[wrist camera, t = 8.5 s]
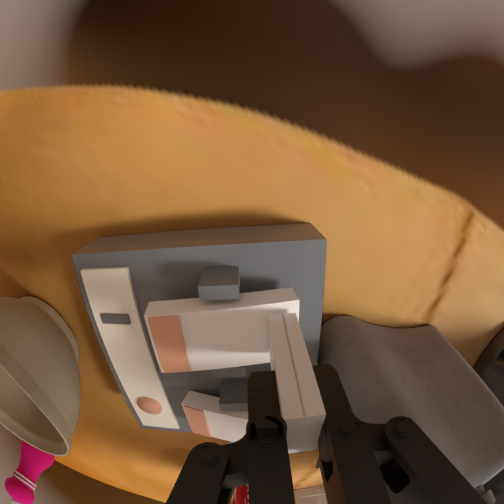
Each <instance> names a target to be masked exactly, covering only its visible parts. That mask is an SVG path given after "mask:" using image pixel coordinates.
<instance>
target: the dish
mask: <svg viewBox="0 0 504 504" xmlns="http://www.w3.org/2000/svg"><path fill="white" fill-rule="evenodd" d="M294 497H295V504H328V503H327V498H326V494H325V489H324V486H320V487H311V488H303V489H297V490H294Z"/></svg>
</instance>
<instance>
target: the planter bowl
mask: <svg viewBox="0 0 504 504" xmlns="http://www.w3.org/2000/svg"><path fill="white" fill-rule="evenodd" d="M79 357H80V353H79V347H78V344H77V341H76V339H75V337H74V335H73V333H72V331H71V329H70V328H69V326H68V325H67V323H66V322H65V321H64V320H63V318H62V317H61V316H60V315H59V314H58V313H57V312H56V311H55V310H54V309H53V308H52V307H51V306H49V305H48V304H47V303H45V302H44V301H42V300H40V299H38V298H36V297H31V296H25V297H22V298H20V299H19V298H14V297H7V296H0V423H1V424H2V425H3V426H5V427H6V428H7V429H8V430H9V431H11V432H12V433H14V434H15V435H16V436H17V437H19V438H20V439H22V440H24V441H25V442H27V443H28V444H30V445H32V446H33V447H35V448H37V449H39V450H41V451H43V452H46V453H48V454H52V455H55V456H66V455H67V454H68V453H69V451H70V449H71V444H72V437H73V434H74V432H75V429H76V425H77V422H78V417H79V411H80V400H81V385H80V375H79V370H78V362H79Z"/></svg>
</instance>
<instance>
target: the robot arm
mask: <svg viewBox="0 0 504 504" xmlns="http://www.w3.org/2000/svg"><path fill="white" fill-rule="evenodd" d="M269 355H270V363H271V371H258V372H252V373H251V375H250V376H249V378H248V380H247V388H248V422H247V425H246V434H245V435H244V436H243V437H242V438H241V439H240V440H238V441H236V442H233V443H230V444H226V445H223V446H221V445H218V444H216V443H209V442H206V443H202V444H199V445H197V446H195V447H194V448H193V449H192V450H191V452H190V453H189V455H188V457H187V459H186V462H185V464H184V466H183V468H182V470H181V472H180V474H179V477H178V479H177V481H176V483H175V485H174V487H173V489H172V491H171V494H170V496H169V498H168V500H167V502H166V504H230V501H231V498H232V495H233V492H234V489H235V488H236V487H240V486H243V485H247V484H248V488H249V504H295V497H294V490H293V483H292V475H291V468H290V461H289V454H290V453H299V452H305V451H312V450H317V446H318V447H319V451H320V455H319V458H318V461H317V464H316V468H319V467H320V470H321V474H322V479H323V484H324V489H325V494H326V498H327V503H328V504H392V503H391V500H392V502H393V503H394V504H488V503H487V502H486V501H485V500H484V499H483V498H482V497H481V495H480V494H479V493H478V492H477V491H476V490H475V489H474V488H473V486H472V485H471V484H470V483H469V482H468V481H467V480H466V479H465V477H464V476H463V475H462V474H461V473H460V472H459V471H458V470H457V468H456V467H455V466H454V465H453V464H452V463H451V462H450V461H449V459H448V458H447V457H446V456H445V455H444V454H443V453H442V452H441V451H440V449H439V448H438V447H437V446H436V445H435V444H434V443H433V442H432V441H431V439H430V438H429V437H428V436H427V435H426V434H425V433H424V432H423V431H422V429H421V428H420V427H419V426H418V425H417V424H416V423H415V422H414V421H413V420H412V419H411V418H409V417H406V416H396V417H393V418H391V419H390V420H389V421H388V422H387V423H386V424H372V423H366V422H363V421H361V420H360V419H358V418H357V417H356V416H355V415H354V413H353V411H352V409H351V406H350V403H349V401H348V398H347V395H346V393H345V390H344V388H343V385H342V382H341V381H340V377H339V375H338V372H337V370H336V369H335V368H334V367H333V366H332V365H331V364H322V365H315V366H312V364H311V361H310V358H309V354H308V351H307V348H306V344H305V341H304V338H303V335H302V331H301V328H300V325H299V322H298V319H297V315H296V313H288V314H275V315H269ZM473 369H474V371H475V372H476V373H477V374H478V375H479V377H480V378H481V379H482V380H483V381H484V383H485V384H486V385H487V386H488V388H489V389H490V390H491V391H492V393H493V394H494V395H495V396H496V398H497V399H498V400H499V402H500V403H501V404H502V406H503V407H504V328H503V329H502V330H501V331H500V332H499V333H498V334H497V336H496V337H495V338H494V339H493V340H492V342H491V343H490V344H489V346H488V347H487V348H486V350H485V351H484V352H483V354H482V355H481V357H480V358H479V360H478V361H477V363H476V365H475V366H474V368H473ZM483 487H484V489H485V491H486V492H487V491H488V490H490V489H491V491H492V493H493V495H494V497H495V500H496V502H494V504H504V469H503V470H501V471H500V472H499V473H498V474H497V475H495V476H494V477H493V478H491V479H490V480H489V481H488V482H486V483H485V484H484V485H483ZM390 499H391V500H390Z"/></svg>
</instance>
